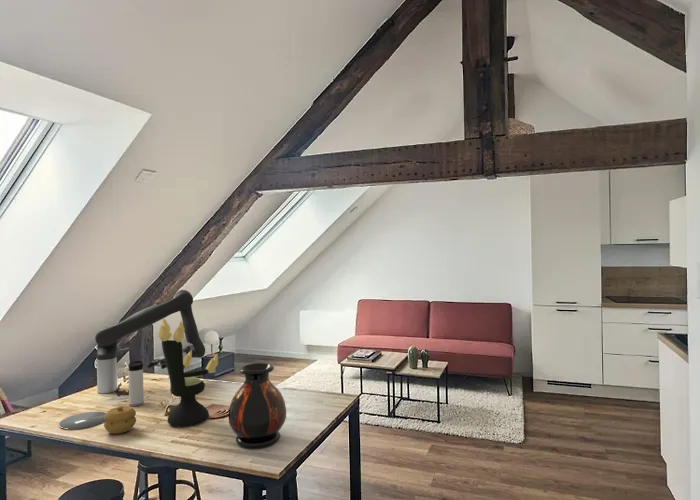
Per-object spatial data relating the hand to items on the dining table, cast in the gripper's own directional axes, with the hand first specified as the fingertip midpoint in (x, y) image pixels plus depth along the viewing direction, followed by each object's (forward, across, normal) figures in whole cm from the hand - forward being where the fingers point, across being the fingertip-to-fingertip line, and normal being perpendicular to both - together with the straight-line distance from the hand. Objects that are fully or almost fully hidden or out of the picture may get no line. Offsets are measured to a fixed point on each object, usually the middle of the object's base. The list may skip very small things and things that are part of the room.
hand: (154, 366), depth 230 cm
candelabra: (+26, +38, +15) cm, 48 cm away
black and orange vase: (+34, +77, +16) cm, 85 cm away
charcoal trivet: (+36, -6, +14) cm, 40 cm away
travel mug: (+12, 0, +15) cm, 19 cm away
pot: (+41, +18, +15) cm, 47 cm away
